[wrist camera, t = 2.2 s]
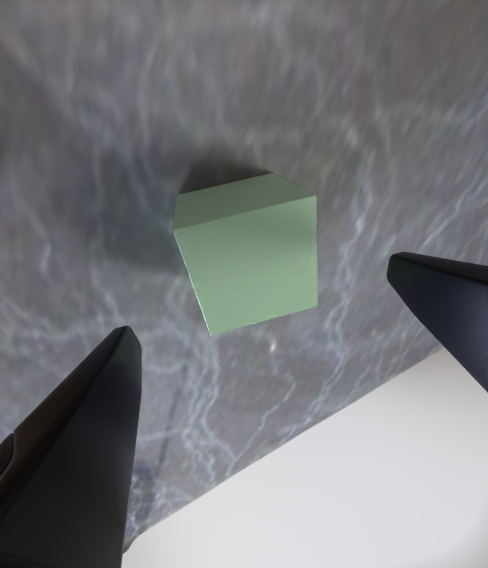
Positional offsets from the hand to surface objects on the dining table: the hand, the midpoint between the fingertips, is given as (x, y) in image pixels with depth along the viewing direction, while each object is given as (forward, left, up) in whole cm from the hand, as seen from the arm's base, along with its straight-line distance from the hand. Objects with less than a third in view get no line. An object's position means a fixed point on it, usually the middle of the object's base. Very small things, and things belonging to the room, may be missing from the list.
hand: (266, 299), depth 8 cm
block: (0, 0, -7) cm, 7 cm away
